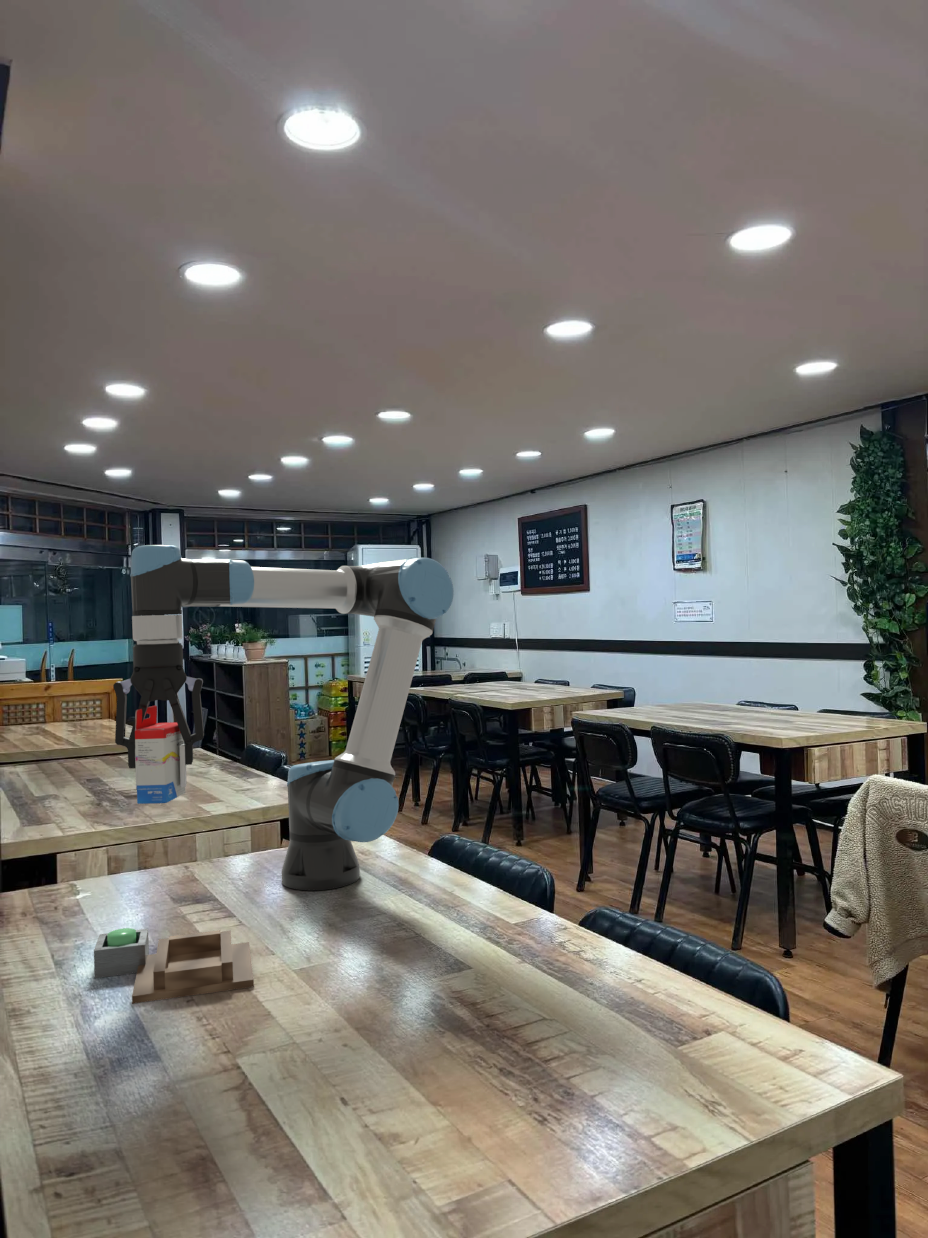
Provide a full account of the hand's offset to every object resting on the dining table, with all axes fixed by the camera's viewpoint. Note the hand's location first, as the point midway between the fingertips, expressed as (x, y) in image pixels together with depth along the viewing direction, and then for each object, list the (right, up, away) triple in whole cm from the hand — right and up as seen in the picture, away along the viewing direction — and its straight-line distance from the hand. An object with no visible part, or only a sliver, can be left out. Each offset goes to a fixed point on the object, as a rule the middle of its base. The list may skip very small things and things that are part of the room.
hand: (161, 786), depth 142 cm
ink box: (0, -2, 0) cm, 2 cm away
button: (-3, -23, -9) cm, 25 cm away
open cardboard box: (+9, -25, -13) cm, 29 cm away
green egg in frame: (-3, -25, -9) cm, 27 cm away
